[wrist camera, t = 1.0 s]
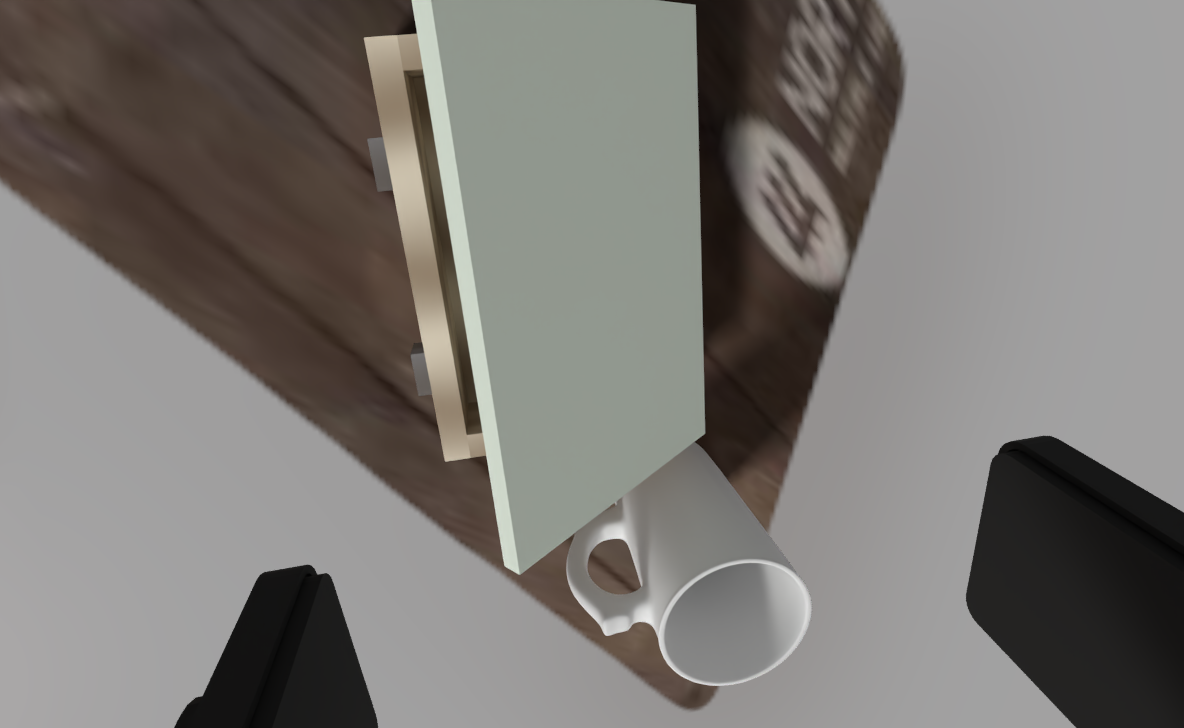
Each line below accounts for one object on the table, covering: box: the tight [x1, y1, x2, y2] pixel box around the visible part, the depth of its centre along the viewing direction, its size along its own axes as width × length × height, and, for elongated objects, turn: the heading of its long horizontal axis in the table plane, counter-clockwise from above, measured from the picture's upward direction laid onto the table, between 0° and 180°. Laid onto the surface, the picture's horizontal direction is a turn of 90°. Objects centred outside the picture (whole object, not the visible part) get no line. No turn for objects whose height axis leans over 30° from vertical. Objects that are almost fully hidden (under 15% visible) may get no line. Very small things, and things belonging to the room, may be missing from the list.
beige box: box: [364, 34, 486, 462], centre depth 30 cm, size 18×13×5 cm
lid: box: [412, 0, 705, 575], centre depth 24 cm, size 18×12×1 cm
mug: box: [567, 442, 812, 686], centre depth 32 cm, size 10×7×12 cm, turn 94°
